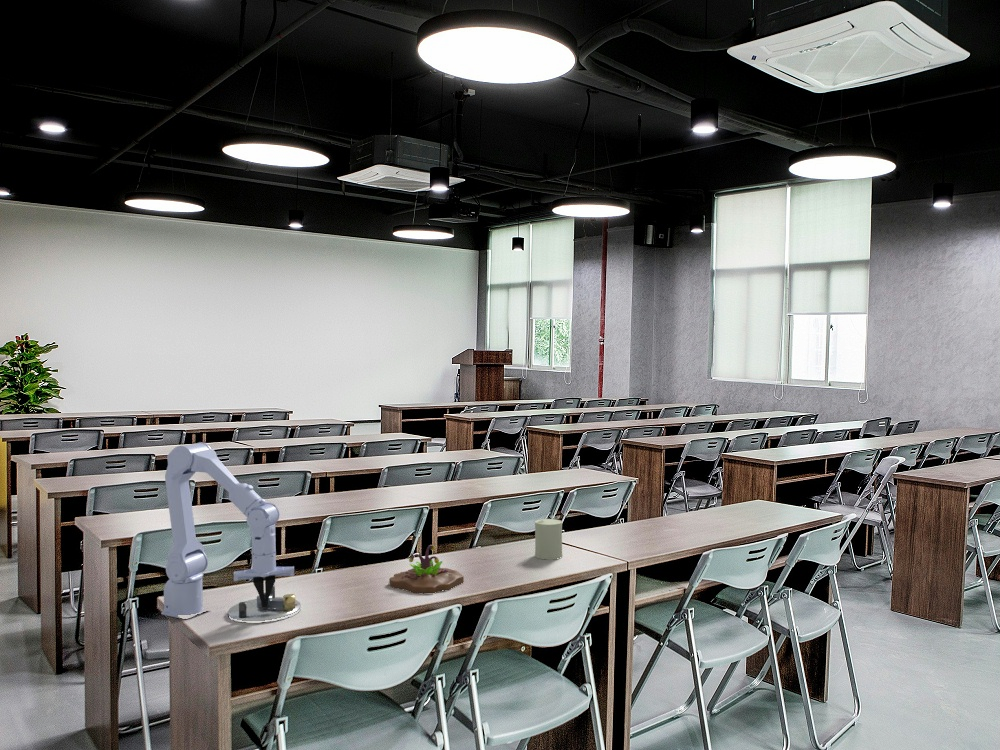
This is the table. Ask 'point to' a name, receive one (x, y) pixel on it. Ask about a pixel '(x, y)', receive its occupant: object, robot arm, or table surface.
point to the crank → (279, 602)
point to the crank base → (259, 610)
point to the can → (548, 539)
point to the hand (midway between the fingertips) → (264, 606)
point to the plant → (426, 576)
